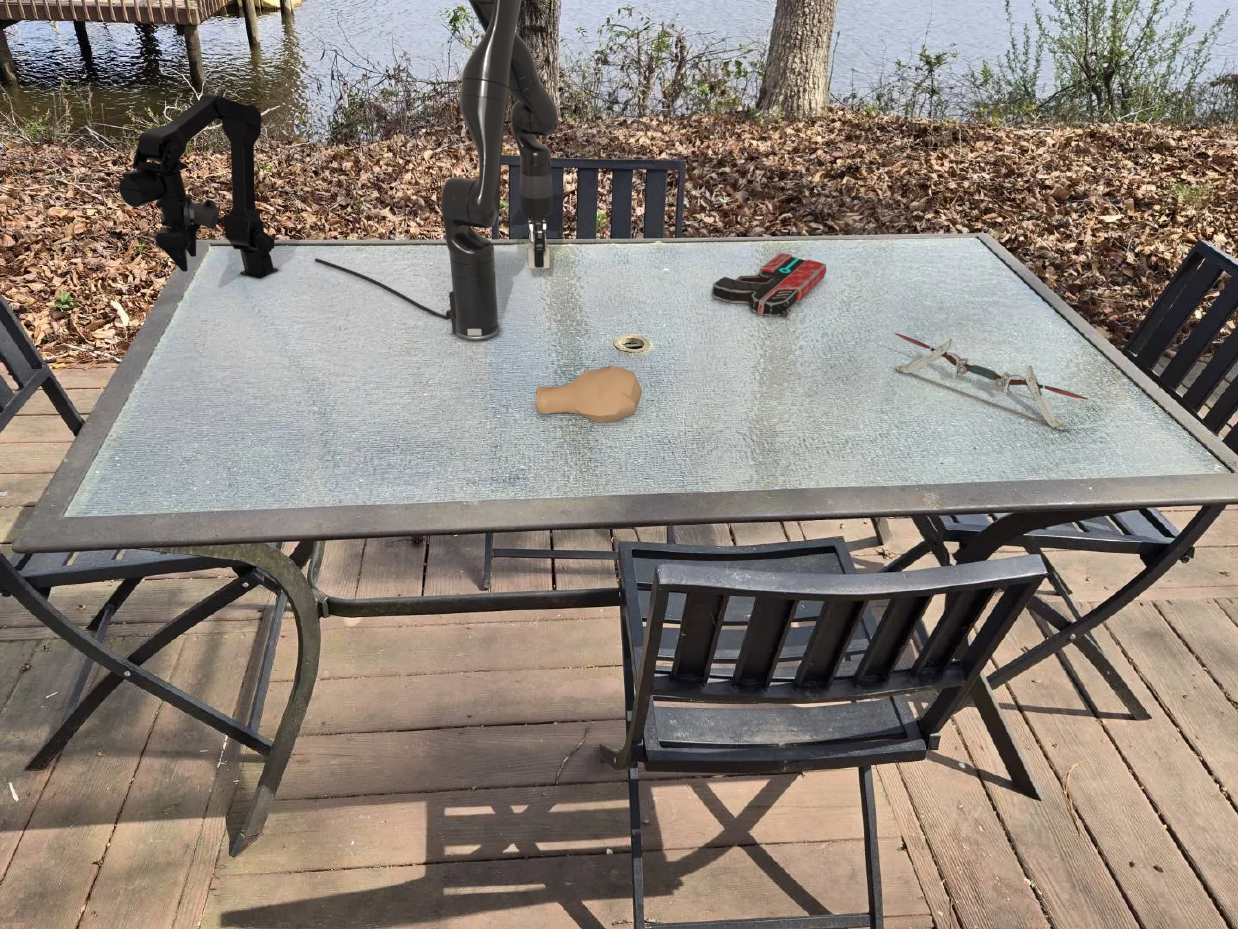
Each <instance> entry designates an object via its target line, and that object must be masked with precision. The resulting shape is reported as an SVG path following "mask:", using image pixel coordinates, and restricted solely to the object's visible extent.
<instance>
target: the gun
mask: <svg viewBox="0 0 1238 929" xmlns="http://www.w3.org/2000/svg"><path fill="white" fill-rule="evenodd" d="M826 273H827V264H826V263H823V262H820V261H816V260H812V259H802V258H799V257H795V256H793V255H792V254H791V253H784V252H780V253H778V254H777V255H775V256H774V257H773V258H771V259H770V260H768V261H767V262H766V263H765V264H763V265H762V266H761V267H760V269H759V271H758V273H757V274H756V275H753V274H752V275H751V274H750V275H740V276H738V277H737V278H735V279H734V278H731V277H727V276H722V277H720V279H717V281H715V282H713V283H712V291H711V297H713V298H714V299H716V300H719V301H723V302H727V303H730V304H750V305H749V308H750V310H751V312H753V313H755V314H757V315H758V316H760V317H761V316H765V317H770V318H771V317H777V316H780V317H784V318H787V317H788V315H789V311H788V310H790V309H791V308H792V307H793V306H794V305H795V304H798V303H799V302H801V301H802V300H803V299H804V298H805V297H807V296H808V295H809V294H810V293H811V292H812V291H813V290H814V289H815V287H817V285H818V284H820V283H821V282H822V280H823V279H824V278H825V276H826Z"/></svg>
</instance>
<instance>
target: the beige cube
mask: <svg viewBox="0 0 1238 929" xmlns="http://www.w3.org/2000/svg"><path fill="white" fill-rule="evenodd" d="M537 247H542V244H537ZM533 249H534V247H533V243H531V242H526V263H527V266H528V267H527V268H528V269H550V247H549V244H548V242H547V241H545V252H544V266H543V267H535V265H534V251H533Z"/></svg>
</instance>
